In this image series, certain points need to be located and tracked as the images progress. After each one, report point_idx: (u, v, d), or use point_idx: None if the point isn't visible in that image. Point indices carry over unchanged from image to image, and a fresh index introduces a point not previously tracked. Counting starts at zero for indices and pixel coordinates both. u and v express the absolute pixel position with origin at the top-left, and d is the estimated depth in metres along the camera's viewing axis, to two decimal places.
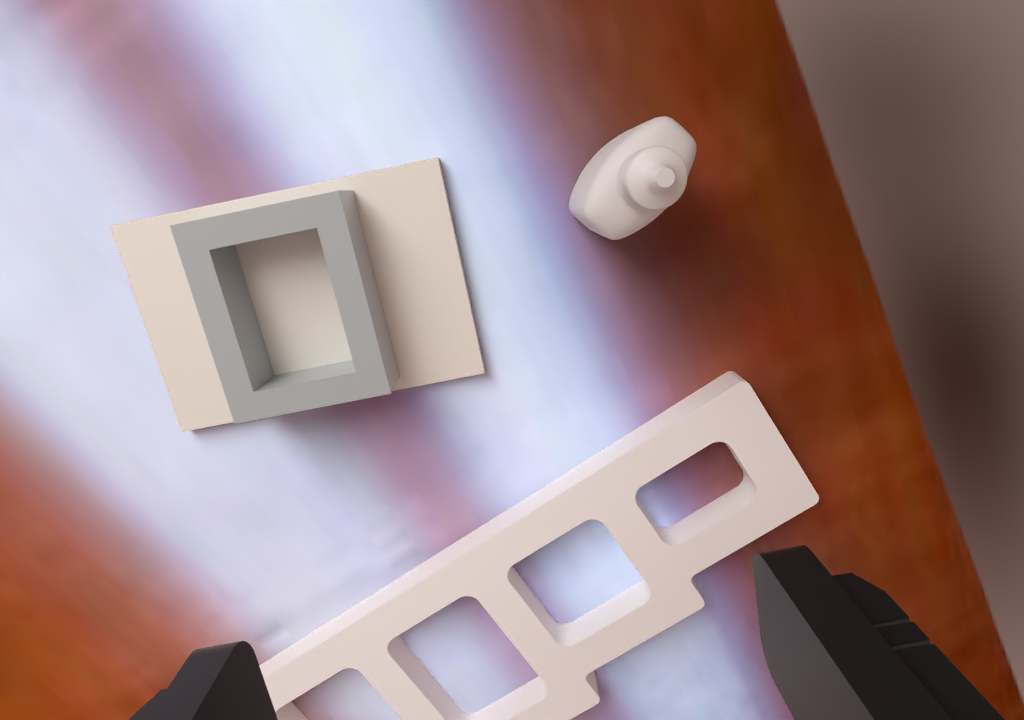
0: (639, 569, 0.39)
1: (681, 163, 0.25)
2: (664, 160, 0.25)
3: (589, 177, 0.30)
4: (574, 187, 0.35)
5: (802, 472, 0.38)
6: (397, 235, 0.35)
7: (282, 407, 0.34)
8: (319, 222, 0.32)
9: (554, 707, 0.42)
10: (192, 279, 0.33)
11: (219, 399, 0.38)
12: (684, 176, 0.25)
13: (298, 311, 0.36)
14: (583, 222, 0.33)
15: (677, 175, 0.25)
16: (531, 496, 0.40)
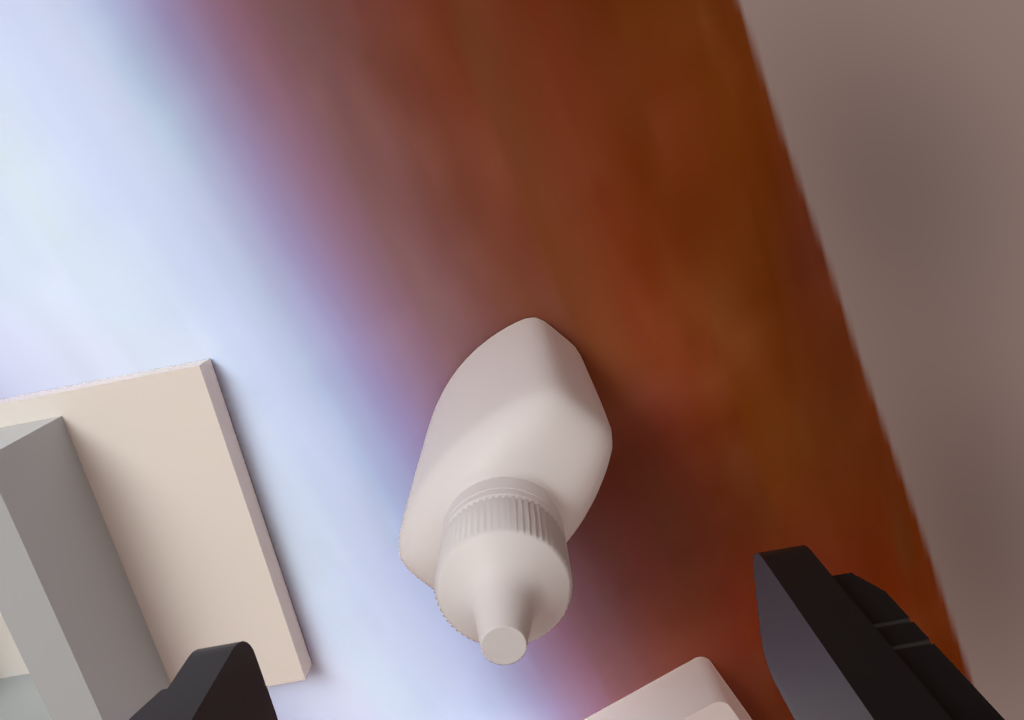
0: None
1: (556, 564, 0.11)
2: (515, 566, 0.11)
3: (424, 458, 0.16)
4: (434, 410, 0.21)
5: None
6: (143, 484, 0.21)
7: None
8: None
9: None
10: None
11: None
12: (563, 589, 0.11)
13: None
14: None
15: (546, 593, 0.11)
16: None
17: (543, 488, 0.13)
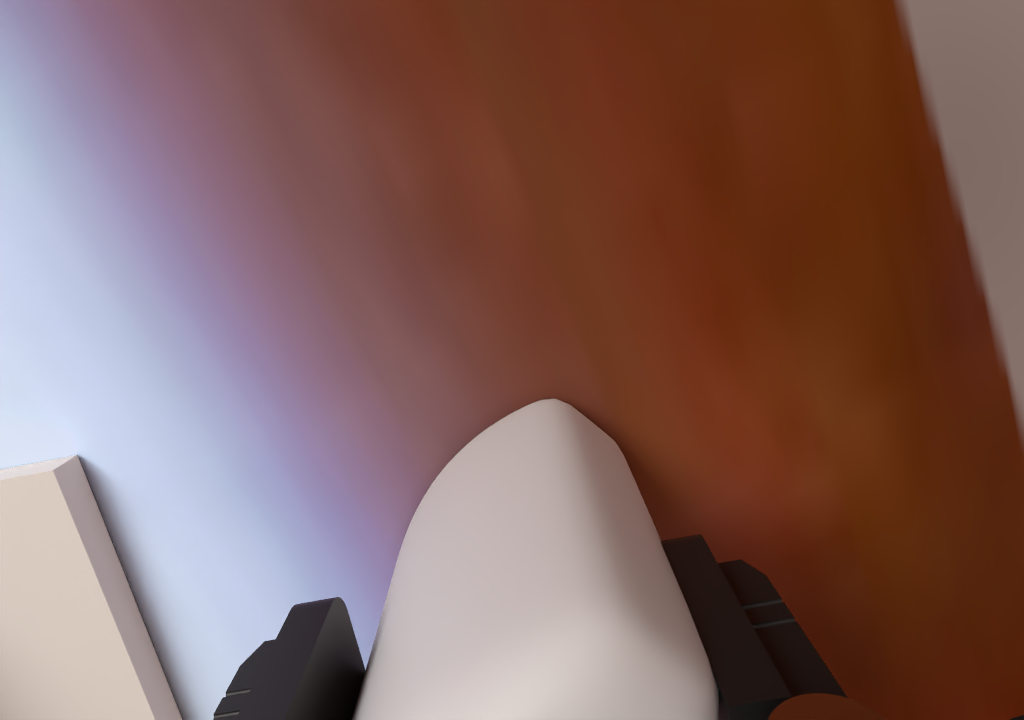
0: None
1: None
2: None
3: (372, 673, 0.09)
4: (406, 535, 0.14)
5: None
6: None
7: None
8: None
9: None
10: None
11: None
12: None
13: None
14: None
15: None
16: None
17: None
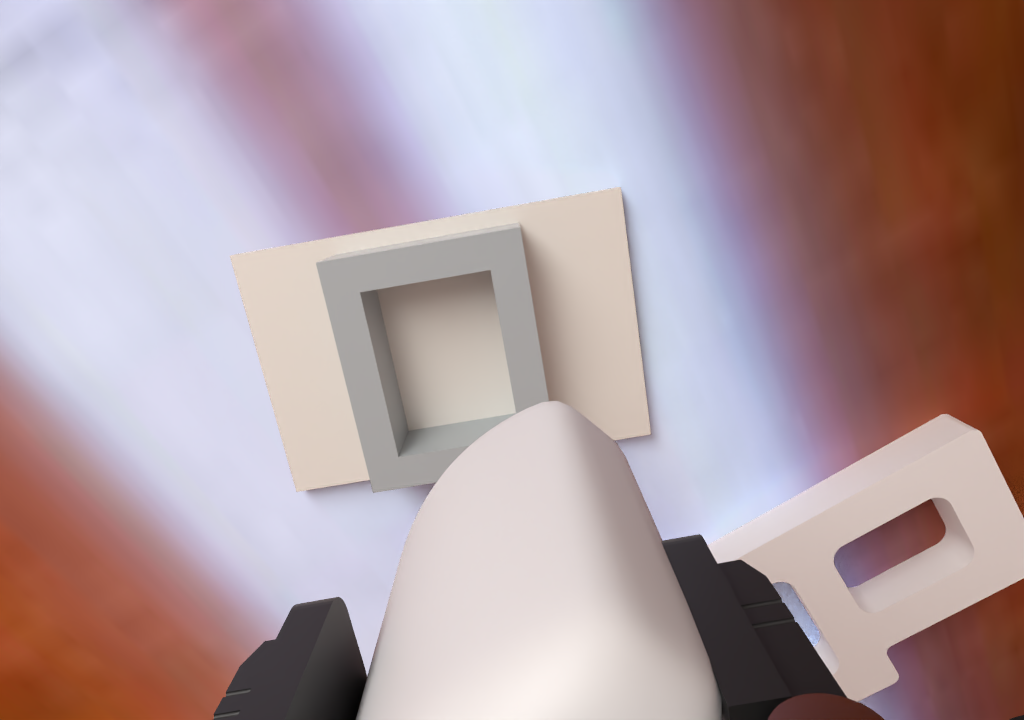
0: (829, 638, 0.34)
1: None
2: None
3: (376, 676, 0.09)
4: (408, 536, 0.14)
5: None
6: (565, 275, 0.30)
7: (430, 475, 0.29)
8: (494, 263, 0.27)
9: None
10: (337, 326, 0.27)
11: (342, 456, 0.32)
12: None
13: (442, 360, 0.31)
14: None
15: None
16: None
17: None
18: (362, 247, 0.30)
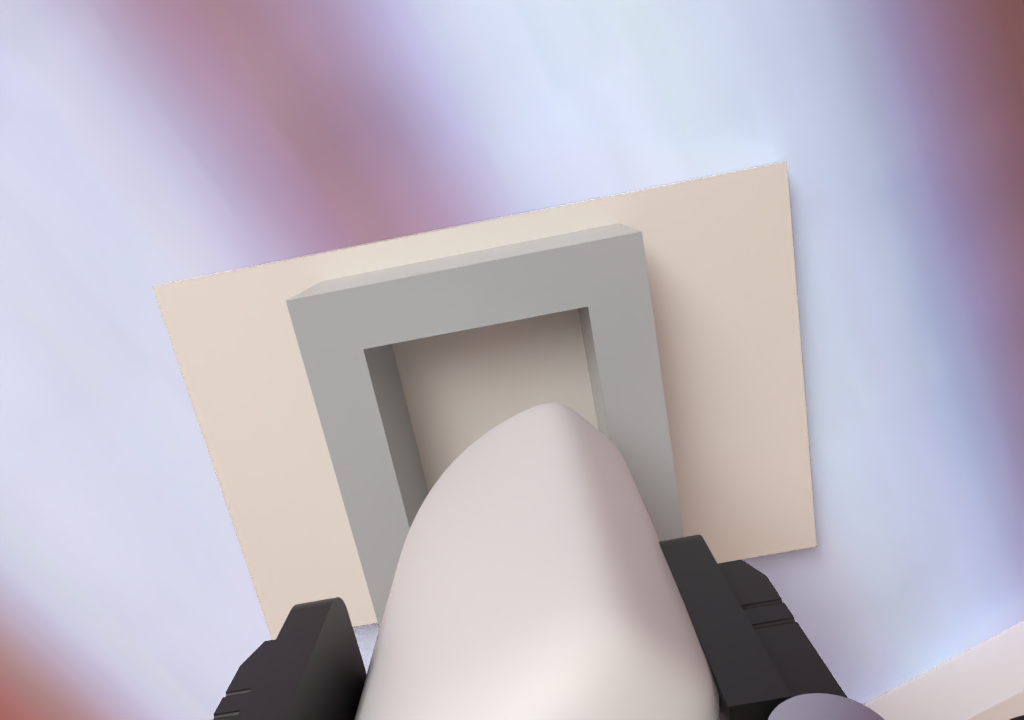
0: None
1: None
2: None
3: (374, 677, 0.09)
4: (407, 538, 0.14)
5: None
6: (691, 307, 0.19)
7: None
8: (595, 296, 0.15)
9: None
10: (326, 406, 0.16)
11: (341, 588, 0.21)
12: None
13: None
14: None
15: None
16: (887, 698, 0.23)
17: None
18: (365, 269, 0.18)
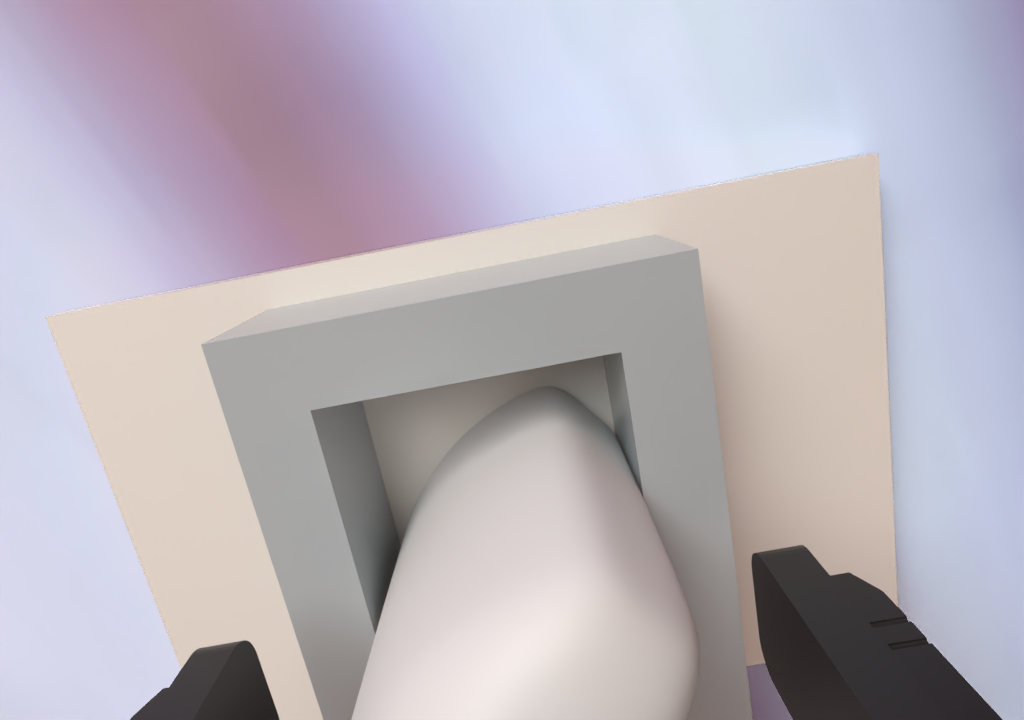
0: None
1: None
2: None
3: (380, 640, 0.10)
4: (410, 518, 0.15)
5: None
6: (748, 343, 0.14)
7: None
8: (631, 338, 0.11)
9: None
10: (261, 486, 0.12)
11: (300, 692, 0.17)
12: None
13: None
14: None
15: None
16: None
17: None
18: (323, 294, 0.14)
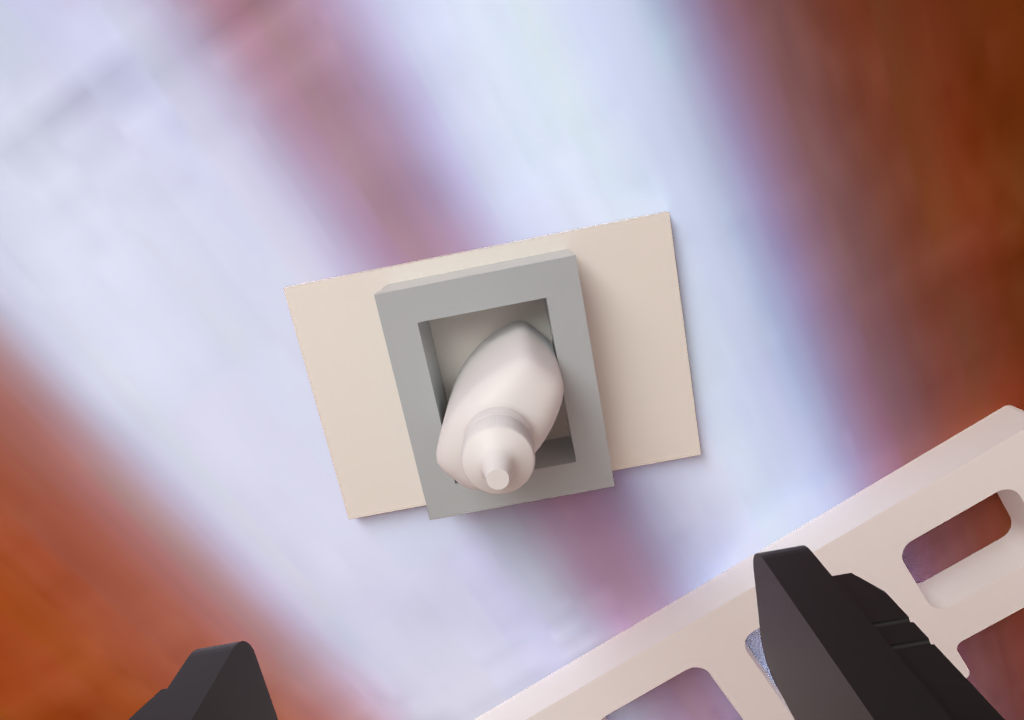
0: None
1: (525, 445, 0.21)
2: (503, 444, 0.21)
3: (450, 407, 0.26)
4: None
5: None
6: (614, 299, 0.30)
7: (487, 501, 0.29)
8: (550, 291, 0.27)
9: None
10: (395, 356, 0.28)
11: (394, 483, 0.33)
12: (530, 459, 0.21)
13: None
14: None
15: (520, 460, 0.21)
16: (766, 550, 0.34)
17: (521, 414, 0.23)
18: (414, 276, 0.30)
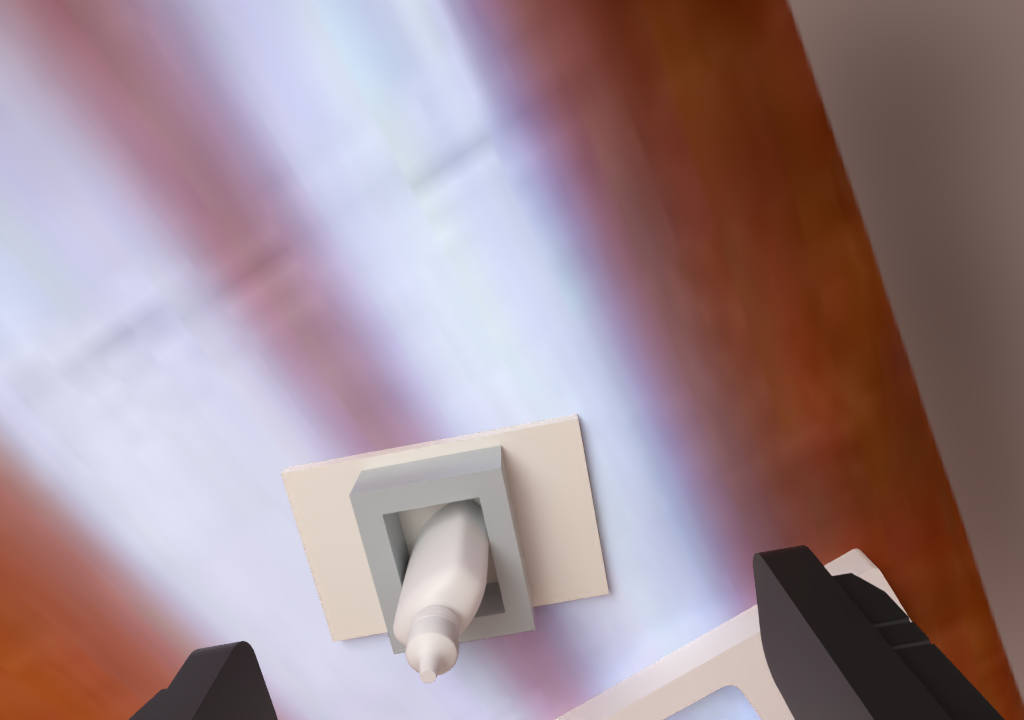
0: None
1: (450, 645, 0.30)
2: (434, 646, 0.29)
3: (405, 585, 0.35)
4: (413, 546, 0.40)
5: None
6: (538, 481, 0.39)
7: None
8: (482, 493, 0.36)
9: None
10: (365, 538, 0.37)
11: (368, 615, 0.42)
12: (453, 654, 0.30)
13: None
14: None
15: (446, 656, 0.30)
16: (668, 657, 0.43)
17: (452, 608, 0.32)
18: (382, 465, 0.39)
